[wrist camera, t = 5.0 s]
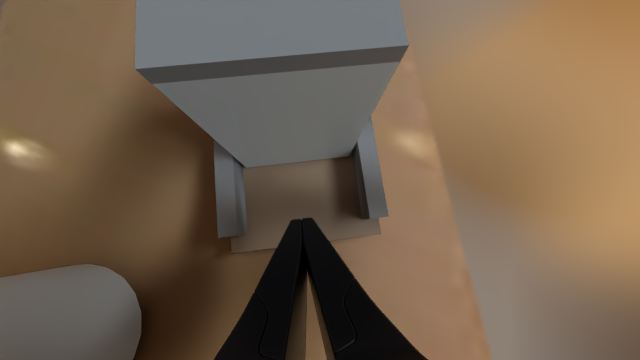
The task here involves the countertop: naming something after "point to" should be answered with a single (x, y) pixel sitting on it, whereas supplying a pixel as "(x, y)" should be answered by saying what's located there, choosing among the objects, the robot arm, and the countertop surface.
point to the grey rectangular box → (273, 70)
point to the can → (68, 315)
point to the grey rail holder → (299, 196)
